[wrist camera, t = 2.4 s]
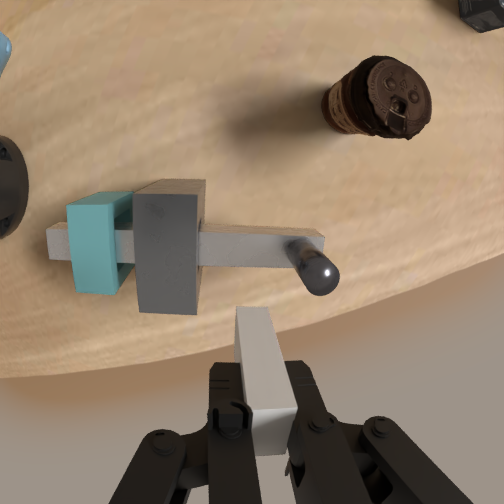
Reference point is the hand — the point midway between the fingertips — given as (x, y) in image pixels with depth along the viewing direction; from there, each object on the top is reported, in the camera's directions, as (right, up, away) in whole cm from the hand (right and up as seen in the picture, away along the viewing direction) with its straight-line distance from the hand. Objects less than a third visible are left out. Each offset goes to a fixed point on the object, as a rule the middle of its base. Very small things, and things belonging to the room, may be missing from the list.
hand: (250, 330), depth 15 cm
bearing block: (-8, +7, +21) cm, 23 cm away
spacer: (-15, +6, +16) cm, 23 cm away
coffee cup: (+11, +21, +18) cm, 30 cm away
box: (+38, +46, +13) cm, 61 cm away
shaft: (-7, +5, +14) cm, 16 cm away
